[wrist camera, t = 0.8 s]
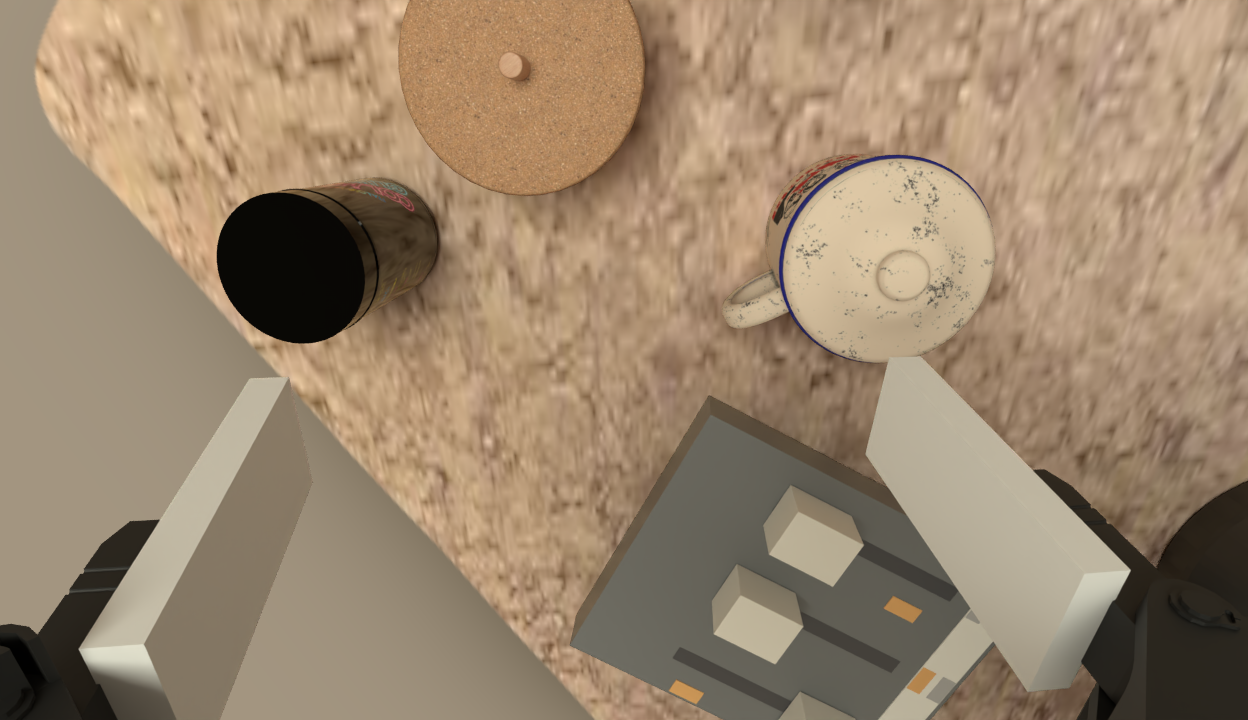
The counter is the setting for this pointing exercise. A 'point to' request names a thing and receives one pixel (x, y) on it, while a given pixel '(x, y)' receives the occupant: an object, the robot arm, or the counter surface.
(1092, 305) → the counter surface
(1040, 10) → the counter surface
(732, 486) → the switch panel
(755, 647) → the middle switch
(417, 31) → the lidded jar
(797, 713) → the back switch
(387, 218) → the supplement container
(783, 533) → the front switch
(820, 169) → the teacup with lid
